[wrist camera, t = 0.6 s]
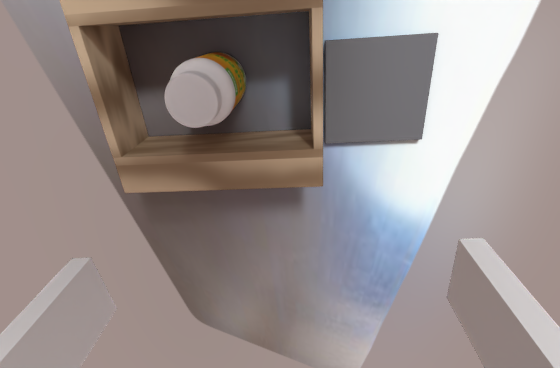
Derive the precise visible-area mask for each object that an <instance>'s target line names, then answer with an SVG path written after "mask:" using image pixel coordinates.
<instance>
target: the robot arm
mask: <svg viewBox="0 0 560 368" xmlns="http://www.w3.org/2000/svg"><path fill="white" fill-rule="evenodd" d="M447 299H448V301H449V303H450V304H451V306H452V308H453V310H454V312H455V314H456V316H457V318H458V319H459V321H460V323H461V324H462V327H463V329H464V330H465V332H466V334H467V336H468V338H469V340H470V342H471V344H472V346H473V347H474V349H475V351H476V353H477V355H478V357H479V359H480V360H481V362H482V364H483V366H484V368H560V328H559V326H558V325H557V324H556V323H555V322H554V321H553V319H552V318H551V317H550V316H549V315H548V313H547V312H546V311H545V310H544V309H543V308H542V306H541V305H540V304H539V303H538V302H537V301H536V299H535V298H534V297H533V296H532V295H531V294H530V292H529V291H528V290H527V289H526V288H525V287H524V285H523V284H522V283H521V282H520V281H519V279H518V278H517V277H516V276H515V275H514V274H513V272H512V271H511V270H510V269H509V268H508V267H507V265H506V264H505V263H504V262H503V261H502V259H501V258H500V257H499V256H498V255H497V254H496V253H495V251H494V250H493V249H492V248H491V247H490V245H489V244H488V243H487V242H486V241H485V240H484V238H473V239H459V241H458V246H457V251H456V256H455V261H454V265H453V270H452V275H451V280H450V284H449V289H448V294H447ZM116 309H117V307H116V306H115V304H114V302H113V300H112V298H111V296H110V294H109V292H108V290H107V288H106V286H105V284H104V282H103V280H102V278H101V276H100V274H99V272H98V270H97V268H96V266H95V264H94V262H93V260H92V259H91V258H72V259H71V260H70V261H69V262H68V263H67V264H66V265H65V266H64V267H63V269H62V270H61V271H60V272H59V273H58V274H57V275H56V276H55V277H54V278H53V279H52V280H51V281H50V282H49V283H48V284H47V285H46V287H45V288H44V289H43V290H42V291H41V292H40V293H39V294H38V295H37V296H36V297H35V298H34V299H33V300H32V301H31V302H30V303H29V304H28V305H27V307H26V308H25V309H24V310H23V311H22V312H21V313H20V314H19V315H18V316H17V317H16V318H15V319H14V320H13V321H12V322H11V324H10V325H9V326H8V327H7V328H6V329H5V330H4V331H3V332H2V333H1V334H0V368H80V367H81V365H82V364H83V362H84V360H85V359H86V357H87V355H88V354H89V352H90V351H91V349H92V348H93V346H94V344H95V343H96V341H97V340H98V338H99V336H100V335H101V333H102V332H103V330H104V328H105V327H106V325H107V324H108V322H109V320H110V319H111V317H112V316H113V314H114V312H115V311H116Z"/></svg>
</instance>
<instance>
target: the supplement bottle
mask: <svg viewBox="0 0 560 368" xmlns="http://www.w3.org/2000/svg"><path fill="white" fill-rule="evenodd" d="M245 89H246V76H245V72H244V70H243V68H242V66H241V65H240V63H239V62H238V61H237V60H236V59H235V58H233V57H232V56H230V55H228V54H226V53H222V52H213V53H208V54H205V55H202V56H199V57H196V58H192V59H189V60H187V61H185V62H183V63H181V64H180V65H179V66H178V67H177V68H176V69H175V70H174V72H173V74H172V76H171V79H170V81H169V83H168V85H167V87H166V89H165V95H164V98H165V104H166V107H167V110H168V112H169V113H170V115H171V116H172V117H173V118H174V119H175V120H176V121H177V122H178V123H180V124H182V125H184V126H187V127H191V128H199V127H203V126H211V125H215V124H218V123H220V122H221V121H223V120H224V119H225V118H226V117H227V116H228V115H229V114H230V113H231V111H232V110H233V109H234V108H235V106H236V105H237V104H238V102H239V101H240V100H241V98H242V97H243V95H244V92H245Z"/></svg>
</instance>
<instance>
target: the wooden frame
mask: <svg viewBox="0 0 560 368" xmlns="http://www.w3.org/2000/svg"><path fill="white" fill-rule="evenodd" d="M60 3H61V6H62V9H63V12H64V15H65V18H66V21H67V24H68V27H69V30H70V33H71V35H72V38H73V41H74V44H75V47H76V50H77V53H78V56H79V59H80V62H81V65H82V68H83V71H84V74H85V77H86V80H87V83H88V85H89V88H90V91H91V94H92V97H93V100H94V103H95V106H96V109H97V112H98V115H99V118H100V121H101V124H102V127H103V130H104V133H105V136H106V138H107V141H108V144H109V147H110V150H111V153H112V156H113V159H114V162H115V165H116V168H117V171H118V174H119V177H120V180H121V183H122V186H123V189H124V191H125V193H143V192H172V191H201V190H231V189H260V188H289V187H319V186H323V0H60ZM306 11H309V45H310V99H311V129H300V130H280V131H259V132H238V133H217V134H196V135H175V136H154V137H149V136H148V133H147V129H146V125H145V122H144V118H143V114H142V111H141V107H140V103H139V100H138V96H137V92H136V89H135V85H134V81H133V78H132V74H131V70H130V67H129V63H128V59H127V56H126V52H125V48H124V45H123V41H122V37H121V34H120V30H119V26H121V25H134V24H147V23H160V22H174V21H187V20H200V19H213V18H226V17H240V16H253V15H266V14H279V13H293V12H306Z"/></svg>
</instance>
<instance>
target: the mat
mask: <svg viewBox="0 0 560 368" xmlns="http://www.w3.org/2000/svg"><path fill="white" fill-rule="evenodd" d="M437 38H438V33H428V34H414V35H399V36H385V37H370V38H355V39H341V40H326V41H325V143H326V144H327V143H350V142H373V141H395V140H418V139H422V134H423V128H424V122H425V115H426V109H427V102H428V96H429V89H430V83H431V77H432V70H433V64H434V57H435V51H436V44H437Z"/></svg>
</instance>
